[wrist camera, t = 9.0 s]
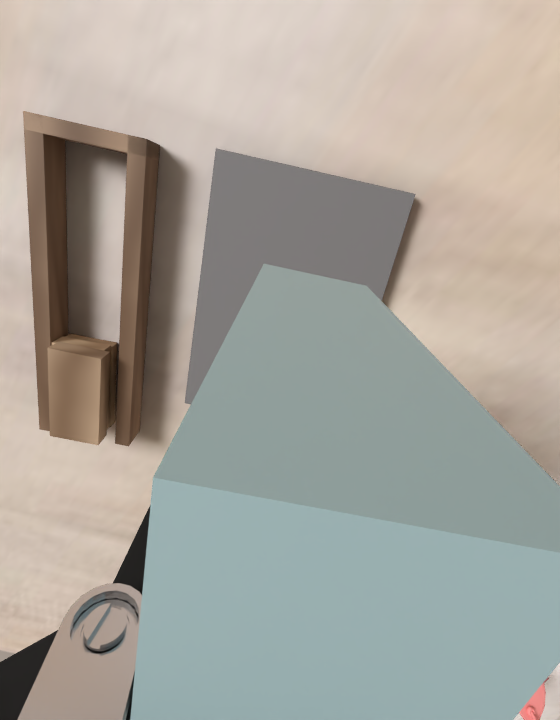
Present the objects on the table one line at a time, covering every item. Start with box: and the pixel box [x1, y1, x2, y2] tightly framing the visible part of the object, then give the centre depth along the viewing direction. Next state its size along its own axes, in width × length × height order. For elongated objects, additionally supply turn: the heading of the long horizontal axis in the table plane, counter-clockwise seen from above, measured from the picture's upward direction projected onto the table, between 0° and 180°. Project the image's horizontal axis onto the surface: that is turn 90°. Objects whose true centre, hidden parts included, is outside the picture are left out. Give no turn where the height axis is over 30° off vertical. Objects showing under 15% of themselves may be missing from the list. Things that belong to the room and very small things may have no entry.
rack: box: [23, 111, 160, 446], centre depth 29 cm, size 8×24×2 cm, turn 168°
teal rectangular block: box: [130, 264, 560, 720], centre depth 9 cm, size 3×12×9 cm, turn 168°
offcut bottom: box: [65, 334, 117, 427], centre depth 33 cm, size 4×8×2 cm, turn 169°
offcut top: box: [47, 341, 110, 445], centre depth 30 cm, size 4×8×2 cm, turn 168°
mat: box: [185, 149, 415, 404], centre depth 30 cm, size 14×20×1 cm
